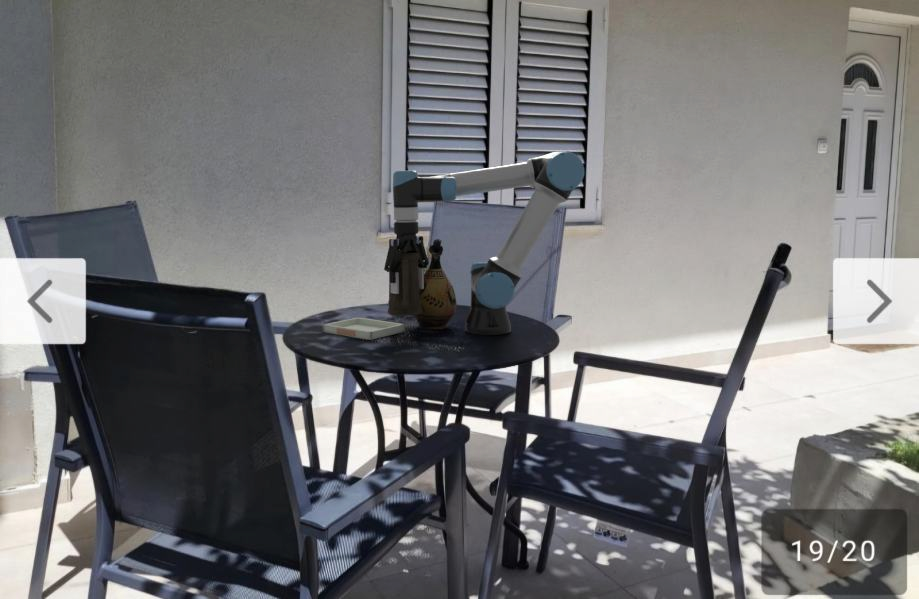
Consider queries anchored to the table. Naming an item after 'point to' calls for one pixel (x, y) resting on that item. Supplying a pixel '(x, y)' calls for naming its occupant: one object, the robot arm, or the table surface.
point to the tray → (364, 328)
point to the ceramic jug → (436, 294)
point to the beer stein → (406, 288)
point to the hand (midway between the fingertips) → (407, 290)
